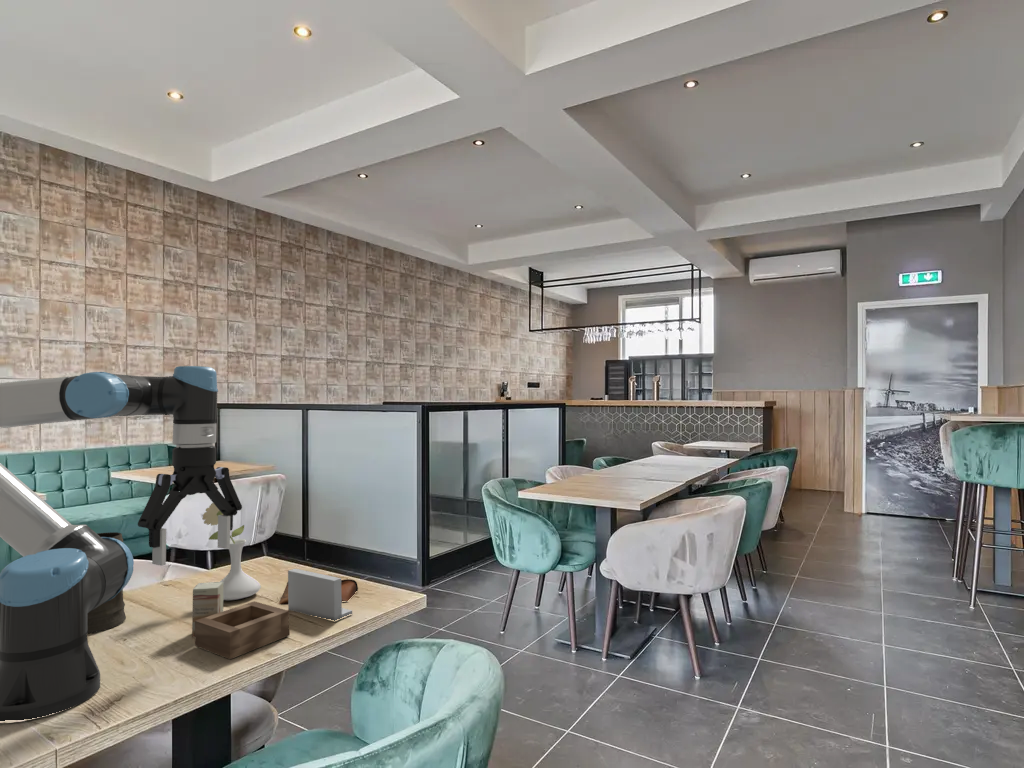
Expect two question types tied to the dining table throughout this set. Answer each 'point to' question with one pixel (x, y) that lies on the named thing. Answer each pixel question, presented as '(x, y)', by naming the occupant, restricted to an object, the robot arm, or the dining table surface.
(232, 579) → the flower in vase
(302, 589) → the wall
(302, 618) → the dining table surface
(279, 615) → the socket block
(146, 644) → the dining table surface
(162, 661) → the dining table surface
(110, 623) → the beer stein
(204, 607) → the skincare box
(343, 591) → the sunglasses case
